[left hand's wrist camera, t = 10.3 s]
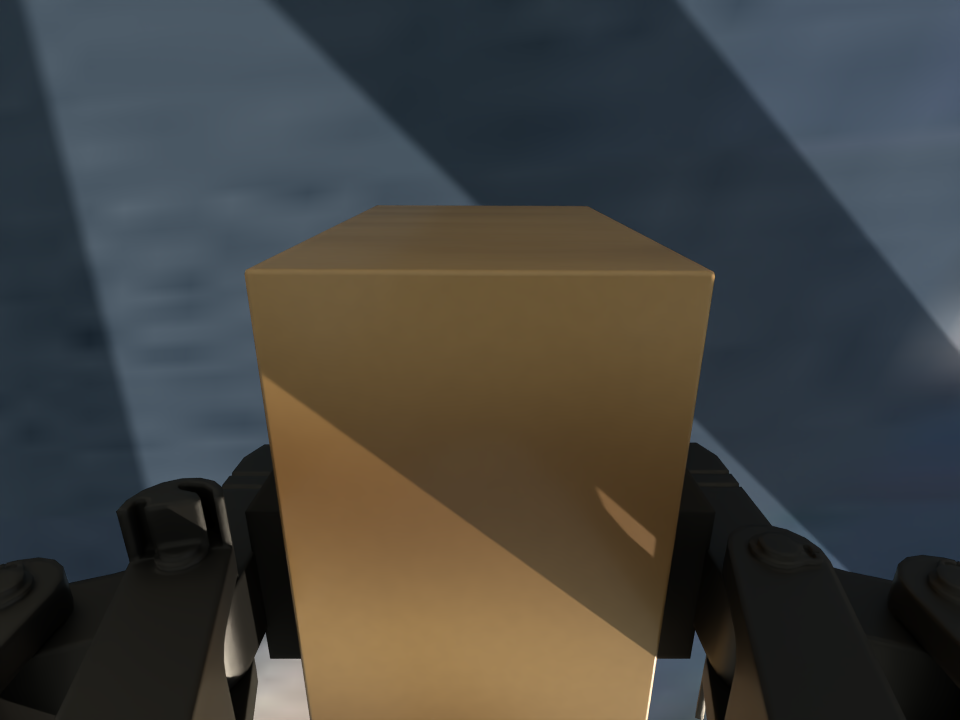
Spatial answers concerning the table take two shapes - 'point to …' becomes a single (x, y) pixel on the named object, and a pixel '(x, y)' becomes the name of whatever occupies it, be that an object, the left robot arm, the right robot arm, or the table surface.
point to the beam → (479, 456)
